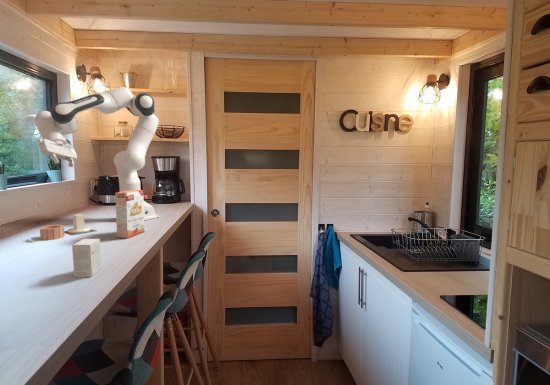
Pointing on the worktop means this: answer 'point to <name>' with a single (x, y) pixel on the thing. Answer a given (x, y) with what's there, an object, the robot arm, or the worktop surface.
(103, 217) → the worktop surface
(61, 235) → the bowl
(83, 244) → the small box
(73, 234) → the rubber mat
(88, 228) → the lid
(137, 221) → the cracker box
